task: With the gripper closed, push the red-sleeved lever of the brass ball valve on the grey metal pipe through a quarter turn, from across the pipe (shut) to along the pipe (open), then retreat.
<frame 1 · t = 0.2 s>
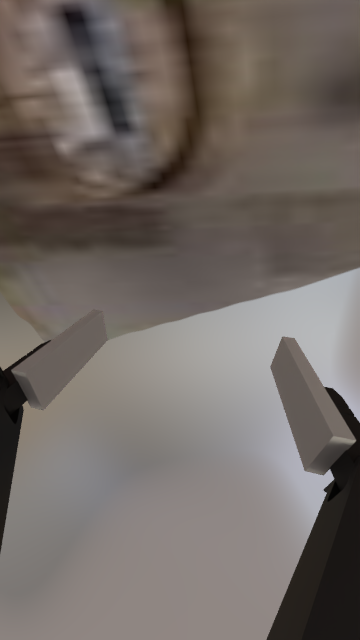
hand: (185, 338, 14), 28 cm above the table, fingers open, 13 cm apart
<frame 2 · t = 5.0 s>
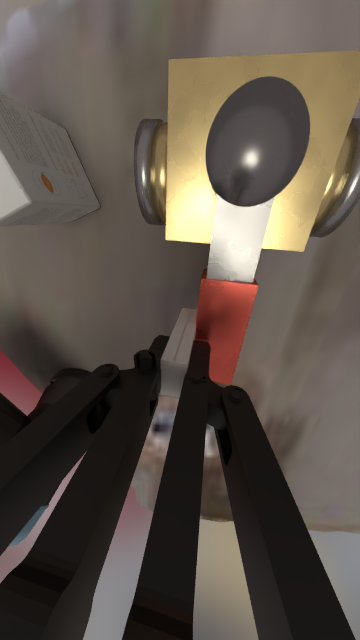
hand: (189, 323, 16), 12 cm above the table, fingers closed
valve body: (234, 189, 20), on the table
pipe: (234, 189, 20), resting on valve body
lever: (228, 276, 12), point 13 cm above the table, hinge at 0.0°, touching gripper
small box: (69, 181, 23), on the table
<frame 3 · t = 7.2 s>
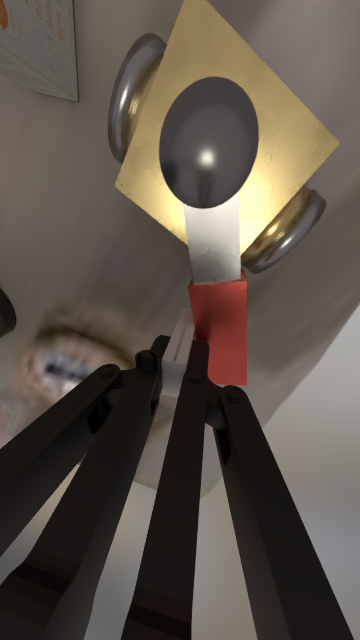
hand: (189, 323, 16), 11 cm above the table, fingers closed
valve body: (217, 185, 20), on the table
pipe: (217, 185, 20), resting on valve body
lever: (217, 278, 12), point 13 cm above the table, hinge at 45.0°, touching gripper
small box: (50, 37, 17), on the table
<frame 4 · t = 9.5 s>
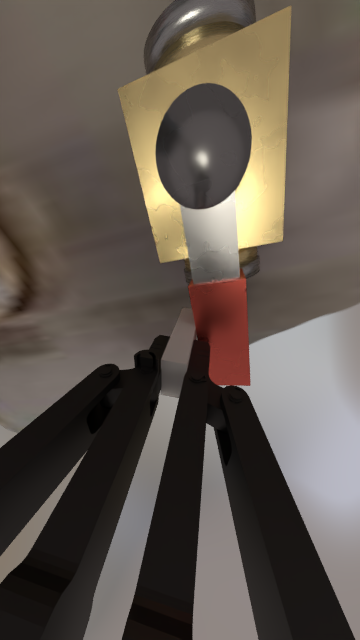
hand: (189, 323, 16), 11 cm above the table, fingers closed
valve body: (213, 190, 20), on the table
pipe: (213, 190, 20), resting on valve body
lever: (216, 277, 12), point 13 cm above the table, hinge at 89.7°, touching gripper
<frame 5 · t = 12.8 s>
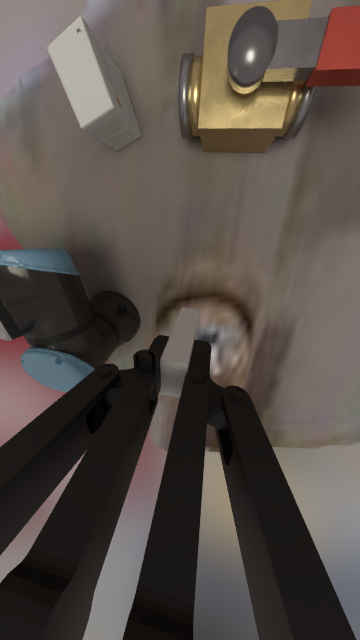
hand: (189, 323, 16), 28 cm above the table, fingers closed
valve body: (239, 114, 29), on the table
pipe: (239, 114, 29), resting on valve body
lever: (317, 51, 18), point 13 cm above the table, hinge at 89.7°
small box: (120, 116, 32), on the table
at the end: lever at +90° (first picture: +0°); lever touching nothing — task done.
